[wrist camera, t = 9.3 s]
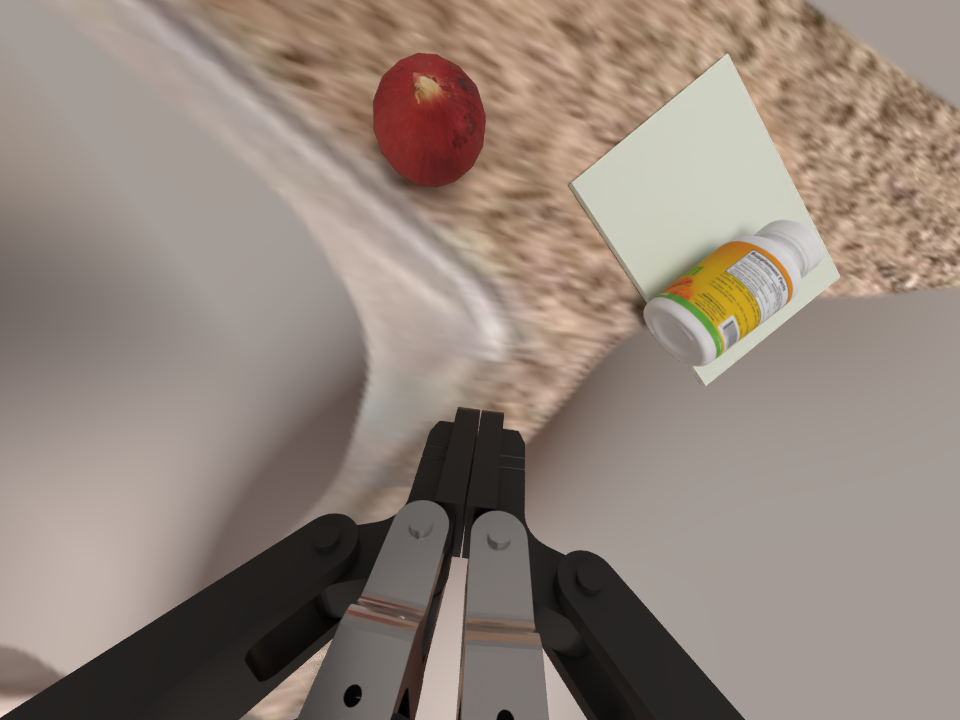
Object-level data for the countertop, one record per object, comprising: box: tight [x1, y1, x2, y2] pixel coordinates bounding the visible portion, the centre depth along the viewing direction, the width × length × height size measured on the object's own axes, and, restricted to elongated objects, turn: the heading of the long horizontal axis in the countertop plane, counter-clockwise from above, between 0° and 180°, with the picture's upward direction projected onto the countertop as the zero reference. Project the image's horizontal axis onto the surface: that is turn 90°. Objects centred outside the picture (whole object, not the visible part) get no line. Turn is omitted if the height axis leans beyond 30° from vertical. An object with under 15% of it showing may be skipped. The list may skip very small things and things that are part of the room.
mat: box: [568, 54, 840, 386], centre depth 26 cm, size 18×13×1 cm
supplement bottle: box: [644, 220, 823, 367], centre depth 24 cm, size 5×5×10 cm
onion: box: [373, 53, 486, 187], centre depth 19 cm, size 6×6×8 cm
